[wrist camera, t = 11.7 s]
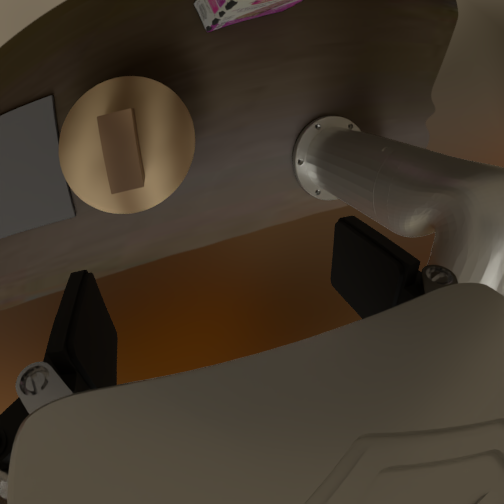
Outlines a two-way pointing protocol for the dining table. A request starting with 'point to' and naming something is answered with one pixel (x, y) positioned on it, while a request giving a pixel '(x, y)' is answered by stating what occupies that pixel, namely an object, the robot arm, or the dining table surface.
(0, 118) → the mat
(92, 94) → the lid
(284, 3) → the candy bar box
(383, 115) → the dining table surface
